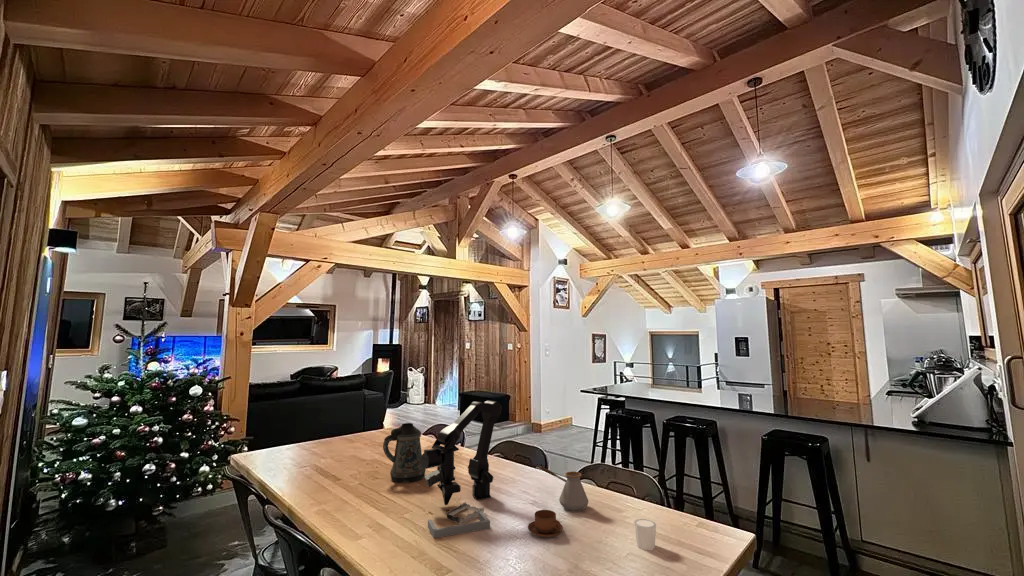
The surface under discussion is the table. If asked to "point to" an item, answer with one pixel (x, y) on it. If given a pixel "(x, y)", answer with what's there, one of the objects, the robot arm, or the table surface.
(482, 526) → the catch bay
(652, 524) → the shot glass
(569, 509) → the grey coffee pot
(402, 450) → the beer stein
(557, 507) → the table surface
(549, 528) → the cup and saucer
